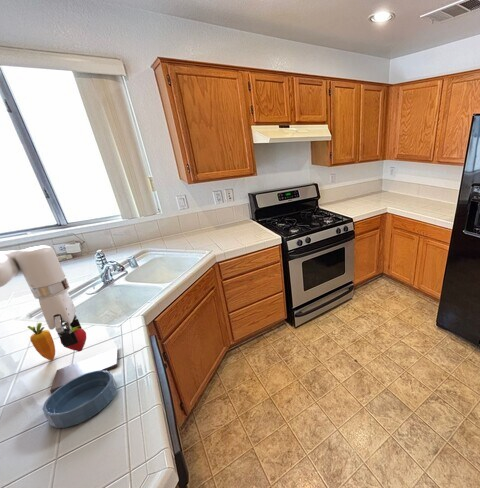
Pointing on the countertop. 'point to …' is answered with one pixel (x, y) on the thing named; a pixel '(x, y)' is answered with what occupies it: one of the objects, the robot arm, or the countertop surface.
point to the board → (85, 368)
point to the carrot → (43, 342)
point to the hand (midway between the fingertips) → (73, 337)
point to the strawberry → (81, 339)
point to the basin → (80, 399)
